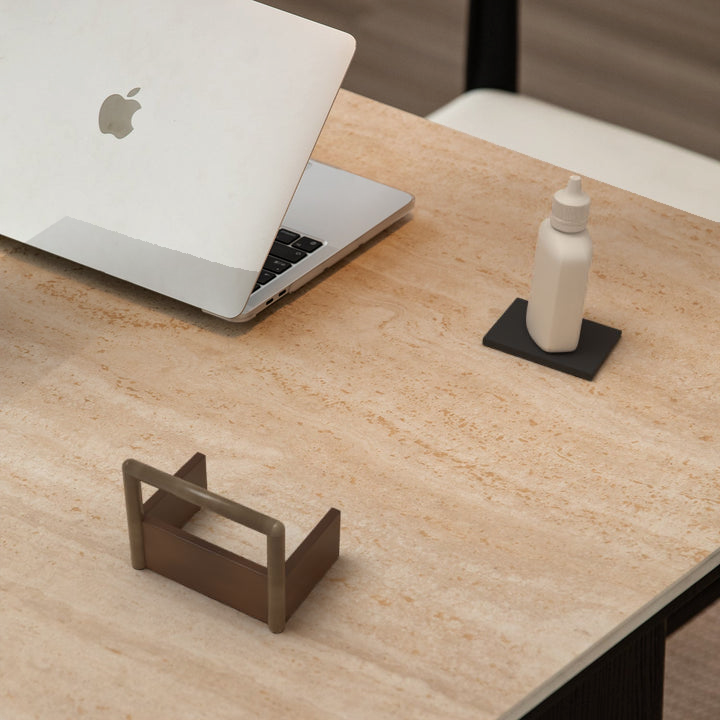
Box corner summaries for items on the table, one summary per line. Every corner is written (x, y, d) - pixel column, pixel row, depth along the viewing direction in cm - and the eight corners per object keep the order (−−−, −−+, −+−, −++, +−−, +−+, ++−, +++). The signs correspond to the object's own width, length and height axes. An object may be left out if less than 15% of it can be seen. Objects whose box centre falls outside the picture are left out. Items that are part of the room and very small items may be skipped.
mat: (481, 344, 86) (482, 337, 85) (516, 303, 90) (517, 296, 90) (590, 381, 83) (592, 374, 82) (621, 337, 87) (622, 330, 87)
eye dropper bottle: (592, 319, 88) (619, 166, 81) (571, 361, 83) (597, 204, 76) (533, 303, 89) (554, 152, 82) (509, 344, 85) (529, 189, 78)
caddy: (128, 565, 68) (117, 462, 63) (197, 495, 72) (192, 395, 68) (279, 635, 64) (278, 531, 60) (342, 557, 69) (345, 455, 64)
